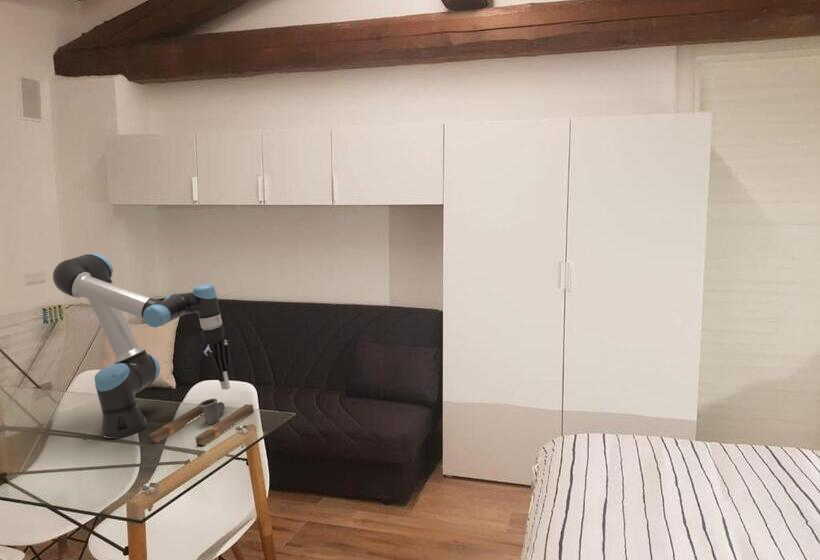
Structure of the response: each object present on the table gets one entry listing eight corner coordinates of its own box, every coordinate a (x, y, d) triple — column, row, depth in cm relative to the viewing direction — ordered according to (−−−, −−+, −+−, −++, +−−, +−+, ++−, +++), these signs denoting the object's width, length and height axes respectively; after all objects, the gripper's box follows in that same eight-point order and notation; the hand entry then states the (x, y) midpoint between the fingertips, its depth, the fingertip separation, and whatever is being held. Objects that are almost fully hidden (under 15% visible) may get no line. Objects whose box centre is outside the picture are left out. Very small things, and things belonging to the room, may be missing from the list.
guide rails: (151, 442, 225) (149, 434, 224) (204, 410, 249) (202, 402, 248) (204, 446, 215) (202, 437, 215) (254, 412, 240) (252, 404, 239)
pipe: (229, 412, 244) (225, 391, 242) (216, 426, 231) (211, 405, 230) (213, 413, 244) (209, 393, 243) (199, 428, 232) (195, 406, 230)
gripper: (208, 332, 231) (222, 395, 236) (232, 321, 243) (245, 382, 247) (191, 332, 234) (206, 395, 239) (215, 322, 246) (229, 382, 250)
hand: (226, 388), depth 243 cm, fingers closed
